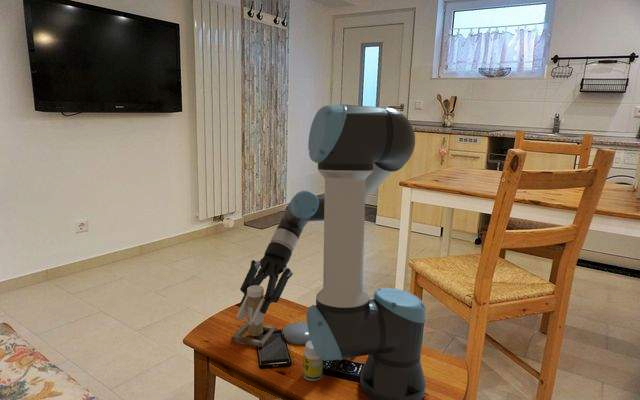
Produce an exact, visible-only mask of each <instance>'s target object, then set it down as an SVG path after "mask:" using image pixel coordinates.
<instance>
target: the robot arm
mask: <svg viewBox="0 0 640 400" xmlns="http://www.w3.org/2000/svg"><path fill="white" fill-rule="evenodd" d="M308 135H309V136H308V143H307V144H308V151H309V152H308V155H309V158H310V160H311V161H312V162H314V163H316V164H317V171H318V172H319V174H321V176H322V177H323V179H324V194H318V195H316V193H314V192H312V191H310V190H308V189H304V190H300V191H298V192H297V193H296V194H295V195H293V197H292V198H291V199H290V201H289V202H288V204H287V206H286V208H285V209H284V212H283V215H282V216H281V218H280V220H279V223H278V225H277V227H276V229H275V231H274V233H273V235H272V236H271V239H270V242H269V243H268V245H267V247H266V249H265V251H264V255H263V257H262V258H261V259H260V260H256V261H255V259H252V260H251V262H250V268H249V270H248V272H247V274H246V276H245V278H244V280H243V283H242V285H241V287H240V292H242V293H243V295H242V299H241V300H240V304H239V306H240V307H239V309H238V311H237V314H236V316H235V317H236V318H238V319H239V320H240V321H242V322H243V321H244V319H245V317H246V315H247V305H248V296H247V288H248V287H250V286H253V285H258V286H261V284H262V283H263V282H264V280H265V279H266V278H267V277H269V279H268V282H267V286H266V290H265V293H264V296H263V299H261V301H260V303H259V305H258V307H257V309H256V311H255V314H254V316H253V318H252V320H251V322H253V323H254V324H255V325H258V323H259V321H260V319H261V317H262V314H263V315H264V314H266V313H267V311H268V309H269V307H270V304H272V303H274V304H277V303H278V302H279V300H280V298H281V296H282V294H283V291H284V289H285V287H286V285H287V282H288V281H289V279H290V278H291V277H292V276H293V274H294V273H293V271H292V270H291V269H290V268H289V267H287V264H288V263H289V261H290V260H291V257H292V255H293V252H294V251H295V247H296V246H297V243H298V242H299V239H300V237H301V234H302V233H303V230H304V228H305V227H306V225H307V224H308V223H309V222H321V221H323V222H324V223H323V228H324V229H323V274H322V275H323V276H322V277H323V278H322V282H323V284H322V289H321V290H319V291H318V292H317V293H316V295H315V304H312V305H311V306H309V307H307V311H306V322H307V325H308V331H309V335H310V339H311V342H312V345H313V348H314V350H315V352H316V353H317V355H318V356H319V357H320V358H321V359H322V360H323V361H327V362H328V361H337V360H338V361H342V360H346V359H345V358H350V359H352V358H355V357H357V358H358V357H364V356H367V357H366V360H365V363H364V364H363V367H362V369H361V371H360V372H361V373H360V381H359V384H360V387H361V389H362V391H363V393H364V394H365V395H366V396H367V397H368V398H370V399H371V400H423V398H424V397H425V394H426V378H425V374H424V370H423V366H422V363H421V358H422V357H421V356H422V348H423V339H424V327H425V323H426V306H425V304H424V302H423V300H422V299H420V298H419V297H418V296H416V295H414V294H413V293H411V292H409V291H407V290H406V291H405V290H404V289H403V290H402V289H399V288H393V287H381V288H378V289H377V290H375V292H374V294H373V298H372V299H370V298H371V297H370V295H369V294H368V293H367V292H366V291H365V290H364V260H365V259H364V253H365V219H366V218H365V217H366V216H365V215H366V214H365V213H366V211H365V210H366V201H367V199H369V198H370V196H371V195H372V194H374V192H375V191H376V190H377V189H378V188H379V187H380V185H381V184H382V183H383V182H384V181H386V179H387V178H388V177H390V174H391V173H394V172H398V171H400V170H401V169H402V168H403V167H404V166H405V165H406V164H407V163H408V161H409V160H410V158H411V157H412V155H413V153H414V151H415V146H416V134H415V129H414V127H413V124H412V123H411V121H410V120H409V119H408V117H406V115H405V114H404V113H402V111H399V110H397V109H395V108H392V107H387V106H370V105H369V106H367V105H355V104H354V105H353V104H326V105H324V106H322V107H320V109H318V111H317V112H316V113H315V115H314V118H313V119H312V122H311V125H310V130H309V133H308ZM279 275H281V276H280V277H279Z"/></svg>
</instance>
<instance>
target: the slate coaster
mask: <svg viewBox="0 0 640 400" xmlns="http://www.w3.org/2000/svg"><path fill="white" fill-rule="evenodd" d="M283 334H284V337H285V339H286V340H285V339H284V340H285V341H286V342H288V343H290V344H293V345H297V346H299V345H300V346H306V343H307V342H308V341H310V340H311V339H310V335H309V331H308V325H307V321H306V322H305V321H297V322H296V321H295V322H292V323H289V324H287V325H285V326H284V328H283V329H282V335H283Z"/></svg>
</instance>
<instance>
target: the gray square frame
mask: <svg viewBox="0 0 640 400" xmlns="http://www.w3.org/2000/svg"><path fill="white" fill-rule="evenodd" d="M247 330H248V323H247V321H246V322H245V323H244V324H243V325H242V326H241V327H240V328H238V330H237V331H236V332H235V333H234V334H233V335H232V336H231V342H232V343H238V344H242V345H247V346H251V347H254V348H257V347H256V346H257V345H259V346H263V345H264V344H265V342H266V341H267V340H268V338H269V337H270V336H271V335H272V333H273V332H274V331H276V330H278V328H277V326H274V325H273V326H272V325H267V324H263V332H264V331H269V332H266V334H264V335H263V337H262V339H261V340H260V339H256V338H251V337H246V336H244V335H245V333H247Z"/></svg>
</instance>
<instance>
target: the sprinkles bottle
mask: <svg viewBox="0 0 640 400" xmlns="http://www.w3.org/2000/svg"><path fill="white" fill-rule="evenodd" d="M264 292H265V291H264V287H263V286H261V285H259V286H258V285H253V286H250V287H248V288H247V296H248V305H247V313H246V315H247V317H246V320H247V321H246V322H247V323H248V330H247V331H246V333H247V335H249V336H251V337H258V336H261V335H262V334H263V332H264V331H263V325H264V324H263V322H264V314H262V317H261V319H260V321H259V323H258V325H255V324H254V323H253V322H251V320H252V318H253V316H254V314H255V311H256V309H257V307H258V305H259V303H260V301H261V299H263V300H264V298H263V297H264V295H265V293H264Z"/></svg>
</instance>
